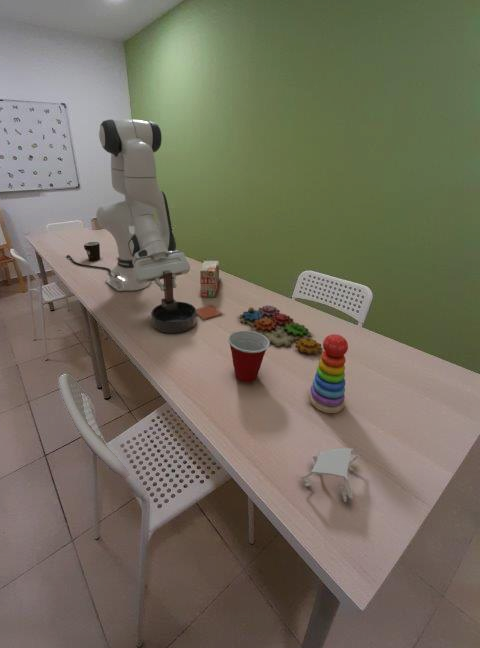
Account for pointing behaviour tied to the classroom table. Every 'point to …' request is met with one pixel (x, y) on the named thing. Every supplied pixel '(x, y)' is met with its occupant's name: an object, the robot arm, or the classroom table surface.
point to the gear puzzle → (280, 328)
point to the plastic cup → (247, 353)
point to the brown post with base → (168, 293)
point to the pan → (174, 318)
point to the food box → (209, 278)
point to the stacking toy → (330, 376)
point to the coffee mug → (93, 250)
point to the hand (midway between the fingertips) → (169, 288)
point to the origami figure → (334, 466)
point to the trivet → (207, 312)
